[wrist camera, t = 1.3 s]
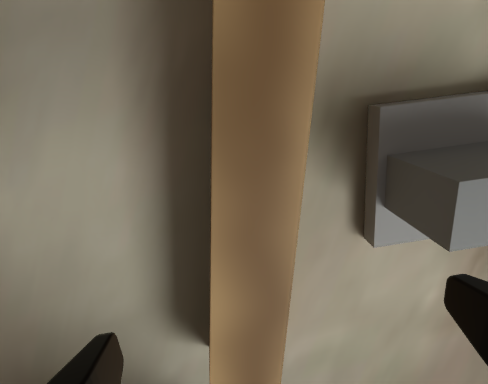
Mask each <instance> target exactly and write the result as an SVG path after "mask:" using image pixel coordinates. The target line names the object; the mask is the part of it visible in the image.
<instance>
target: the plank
mask: <svg viewBox="0 0 488 384" xmlns="http://www.w3.org/2000/svg"><path fill="white" fill-rule="evenodd" d="M324 4H325V0H213V1H212V112H211V223H210V334H209V372H210V384H281V377H282V368H283V359H284V351H285V342H286V333H287V325H288V316H289V307H290V299H291V290H292V282H293V273H294V264H295V256H296V247H297V238H298V230H299V221H300V212H301V204H302V195H303V186H304V178H305V169H306V160H307V152H308V143H309V134H310V126H311V117H312V108H313V100H314V91H315V82H316V74H317V65H318V56H319V48H320V39H321V30H322V22H323V13H324Z"/></svg>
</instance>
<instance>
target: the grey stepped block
mask: <svg viewBox="0 0 488 384" xmlns="http://www.w3.org/2000/svg"><path fill="white" fill-rule="evenodd" d="M364 239H366V240H367V241H368V242H369V243H370V244H371V245H372V246H373V247H374V248H375V247H381V246H388V245H394V244H400V243H407V242H413V241H419V240H426V239H431V240H433V241H434V242H436V243H437V244H439V245H440V246H442V247H443V248H445V249H446V250H448V251H449V252H450V251H457V250H463V249H469V248H475V247H481V246H488V91H482V92H474V93H466V94H458V95H450V96H441V97H433V98H425V99H417V100H409V101H401V102H393V103H385V104H377V105H369V106H368V131H367V161H366V191H365V221H364Z"/></svg>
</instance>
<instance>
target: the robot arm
mask: <svg viewBox="0 0 488 384" xmlns="http://www.w3.org/2000/svg"><path fill="white" fill-rule="evenodd" d="M444 304H445V307H446V309H447V310H448V312H449V313H450V315H451V316H452V317H453V319H454V320H455V322H456V323H457V324H458V326H459V327H460V329H461V330H462V331H463V333H464V334H465V336H466V337H467V338H468V340H469V341H470V343H471V344H472V345H473V347H474V348H475V350H476V351H477V352H478V354H479V355H480V356H481V358H482V359H483V360H484V362H485V363H486V364H487V366H488V282H487V281H484V280H481V279H478V278H476V277H473V276H470V275H467V274H459V275H453V276H450V277H449V278H448V279H447V282H446V289H445V296H444ZM122 371H123V355H122V352H121V348H120V345H119V342H118V339H117V336H116V335H115V333H112V332H111V333H105V334H99V335H97V336H96V337H94V338H93V339H92V340H91V341H90V342H89V343H88V344H87V345H86V346H85V347H84V348H83V349H82V350H81V351H80V352H79V353H78V354H77V355H76V356H75V357H74V358H73V359H72V360H71V361H70V362H69V363H68V364H66V365H65V366H64V367H63V368H62V369H61V370H60V371H59V372H58V373H57V374H56V375H55V376H54V377H53V378H52V379H51V380H50V381H49V382H48V383H47V384H121V377H122Z"/></svg>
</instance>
